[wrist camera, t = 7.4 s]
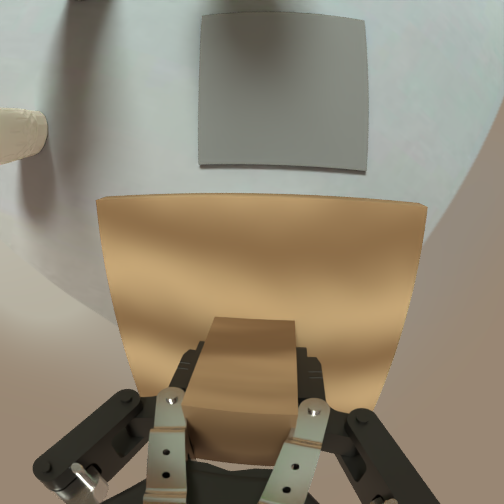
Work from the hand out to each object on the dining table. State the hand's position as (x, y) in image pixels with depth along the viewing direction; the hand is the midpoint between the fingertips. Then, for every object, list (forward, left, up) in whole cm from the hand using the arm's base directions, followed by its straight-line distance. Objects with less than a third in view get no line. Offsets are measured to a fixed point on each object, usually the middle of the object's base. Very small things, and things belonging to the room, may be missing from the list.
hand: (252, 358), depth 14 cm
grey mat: (-17, +1, -20) cm, 26 cm away
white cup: (-15, -34, -20) cm, 42 cm away
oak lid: (0, 0, -2) cm, 2 cm away
